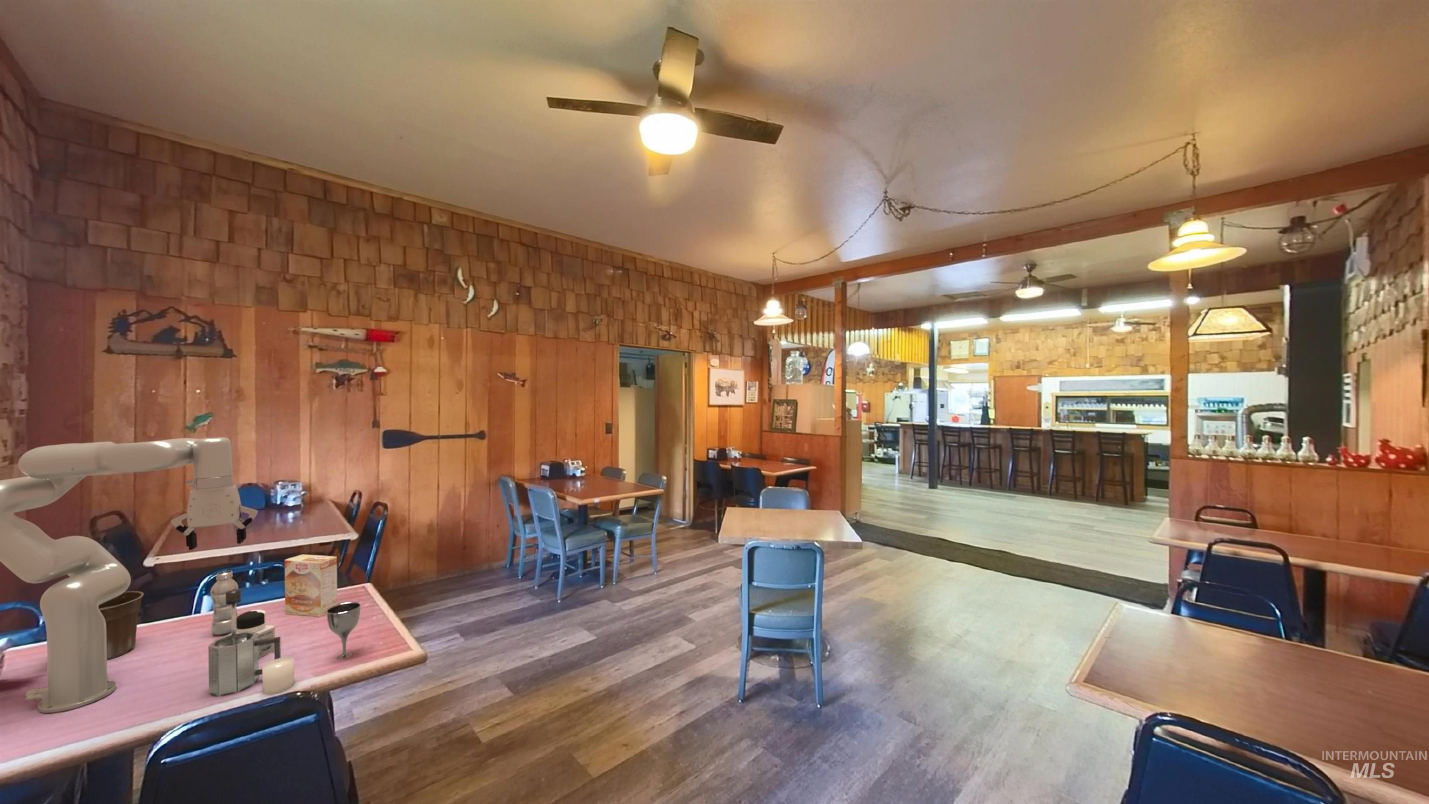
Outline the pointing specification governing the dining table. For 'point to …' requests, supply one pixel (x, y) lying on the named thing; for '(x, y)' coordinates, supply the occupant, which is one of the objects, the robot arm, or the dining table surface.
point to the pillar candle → (278, 675)
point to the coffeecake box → (310, 584)
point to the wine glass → (343, 622)
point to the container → (257, 628)
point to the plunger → (233, 609)
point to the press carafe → (236, 663)
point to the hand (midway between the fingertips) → (217, 545)
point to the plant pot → (121, 622)
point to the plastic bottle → (222, 603)
